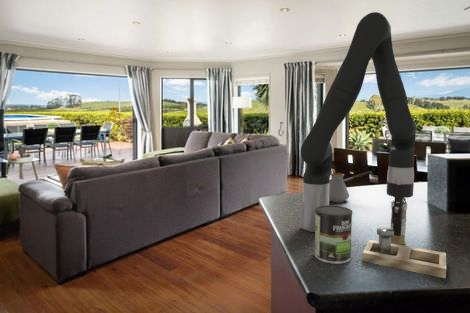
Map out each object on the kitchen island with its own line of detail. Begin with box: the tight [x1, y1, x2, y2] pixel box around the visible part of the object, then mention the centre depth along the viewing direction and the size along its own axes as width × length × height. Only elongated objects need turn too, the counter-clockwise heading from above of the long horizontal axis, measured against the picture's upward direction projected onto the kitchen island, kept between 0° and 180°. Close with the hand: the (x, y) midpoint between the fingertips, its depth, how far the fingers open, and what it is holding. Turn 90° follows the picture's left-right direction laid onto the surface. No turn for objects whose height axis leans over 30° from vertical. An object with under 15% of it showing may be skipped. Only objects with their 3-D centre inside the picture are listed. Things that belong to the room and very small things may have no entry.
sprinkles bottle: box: [389, 201, 408, 245], centre depth 105 cm, size 5×5×14 cm
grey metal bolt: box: [376, 227, 394, 255], centre depth 95 cm, size 4×4×8 cm
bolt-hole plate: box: [361, 239, 447, 279], centre depth 92 cm, size 20×11×2 cm, turn 58°
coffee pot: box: [329, 170, 373, 203], centre depth 156 cm, size 21×12×15 cm, turn 71°
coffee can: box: [314, 204, 353, 265], centre depth 96 cm, size 10×10×14 cm
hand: (397, 232), depth 106 cm, fingers closed on sprinkles bottle, 4 cm apart
